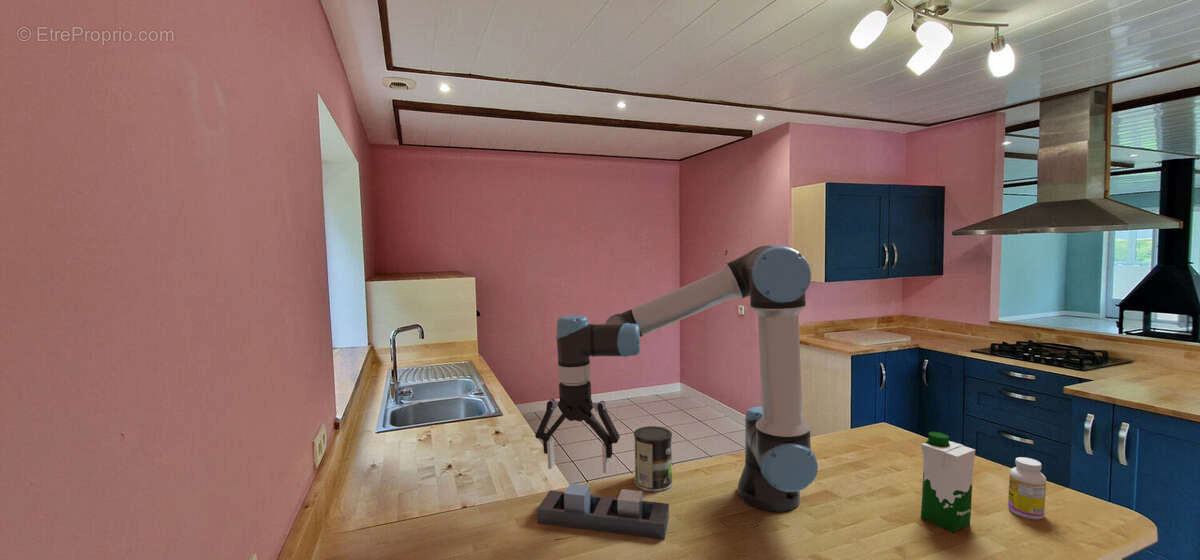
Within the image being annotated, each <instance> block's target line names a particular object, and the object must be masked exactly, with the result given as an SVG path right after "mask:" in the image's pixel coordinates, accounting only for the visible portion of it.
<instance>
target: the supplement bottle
mask: <svg viewBox="0 0 1200 560" xmlns="http://www.w3.org/2000/svg"><path fill="white" fill-rule="evenodd" d="M1014 463H1015V466H1014V467H1012V468H1011V469H1009V470H1010V471H1009V478H1008V479H1009V481H1008V495H1007V496H1008V500H1007V503H1008V504H1007V506H1008V509H1009V510H1010V512H1012V513H1013V514H1014V515H1017V516H1019V517H1020V518H1021V517H1022V518H1024V519H1030V520H1041V519H1044V517H1045V514H1046V496H1047V495H1046V493H1047V477H1046V475H1044V474H1043V473H1042V472H1041V470H1042V463H1041V462H1040V461H1039V460H1037V459H1034V458H1030V457H1023V456H1022V457H1021V456H1020V457H1019V456H1018V457H1015V462H1014Z"/></svg>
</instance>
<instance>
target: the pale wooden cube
mask: <svg viewBox="0 0 1200 560" xmlns="http://www.w3.org/2000/svg"><path fill="white" fill-rule="evenodd" d="M617 498H618V514H617V516H618V517H626V518H635V519H643V518H644V517H643V501H644V500H643V490H632V489H625V488H622V489H621V491H620V492H619V495H618V497H617ZM643 520H644V519H643Z"/></svg>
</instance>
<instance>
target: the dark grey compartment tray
mask: <svg viewBox="0 0 1200 560" xmlns="http://www.w3.org/2000/svg"><path fill="white" fill-rule="evenodd" d="M564 493H565V491H559V490H549V491H548V493H547V494H546V495H545V497H544V499H543V500H542V501H541V502H540V504H539V505H538V507H537V508H536V516H537V518H536V520H537V524H540V525H541V524H543V525H549V526H556V527H564V528H571V529H572V528H573V529H578V530H587V531H594V532H600V533H601V532H602V533H603V532H604V533H608V534H609V533H610V534H616V535H617V534H618V535H625V536H632V537H640V538H641V537H642V538H649V539H655V540H662V541H665V539H666V534H667V531H668V530H667V528H668V524H669V519H670V518H669V517H670V514H669V513H670V509H669V507H670V505H669V504H670V503H666V502H656V501H647V500H643V518H648V519H635V518H626V517H618V497H613V496H612V497H611V496H604V495H596V494H595V495H594V494H590V513H586V512H577V511H569V510H564V509H562V508H564ZM591 511H592V512H593V513H591ZM615 514H616V515H617V516H616V515H615Z"/></svg>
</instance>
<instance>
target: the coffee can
mask: <svg viewBox="0 0 1200 560" xmlns="http://www.w3.org/2000/svg"><path fill="white" fill-rule="evenodd" d="M633 436H634V484H635V485H636V487H637V488H639V489H641V491H646V492H652V493H653V492H656V493H657V492H663V490H664V491H666V489H667V490H669V489H670V488H671V487H672V485H673V479H672V478H673V476H672V475H673V474H672V473H673V472H672V471H673V470H672V465H673V464H672V463H673V462H672V460H673V459H672V436H673V433H672V431H671V430H670V429H668V428H666V427H661V426H651V425H650V426H642V427H639V428H637V429H635V430H634V431H633Z"/></svg>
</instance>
